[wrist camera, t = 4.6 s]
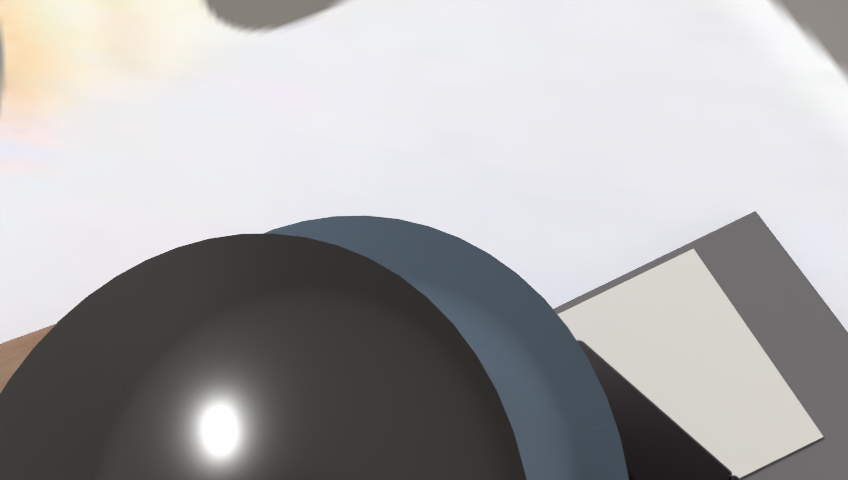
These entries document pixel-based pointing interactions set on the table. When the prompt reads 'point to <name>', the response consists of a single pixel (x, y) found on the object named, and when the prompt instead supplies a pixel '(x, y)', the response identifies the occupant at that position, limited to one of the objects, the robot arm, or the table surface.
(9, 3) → the table surface
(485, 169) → the table surface
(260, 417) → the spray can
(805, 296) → the mat
